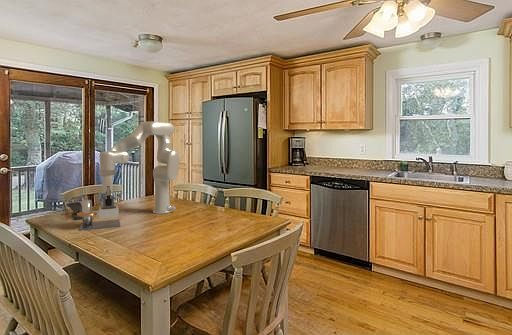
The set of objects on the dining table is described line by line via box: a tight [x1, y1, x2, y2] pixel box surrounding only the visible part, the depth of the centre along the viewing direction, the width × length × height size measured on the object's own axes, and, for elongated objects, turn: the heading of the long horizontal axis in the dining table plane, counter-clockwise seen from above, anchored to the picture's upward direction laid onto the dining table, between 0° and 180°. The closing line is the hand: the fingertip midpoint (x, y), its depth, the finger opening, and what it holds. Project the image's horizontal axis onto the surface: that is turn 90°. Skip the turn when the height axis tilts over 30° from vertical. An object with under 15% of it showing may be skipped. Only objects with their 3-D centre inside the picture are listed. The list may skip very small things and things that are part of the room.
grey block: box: [102, 194, 115, 209], centre depth 178 cm, size 6×3×10 cm, turn 116°
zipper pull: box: [66, 201, 83, 221], centre depth 199 cm, size 9×7×25 cm
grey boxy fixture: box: [77, 199, 121, 232], centre depth 177 cm, size 22×13×15 cm, turn 116°
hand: (108, 204), depth 178 cm, fingers open, 3 cm apart
